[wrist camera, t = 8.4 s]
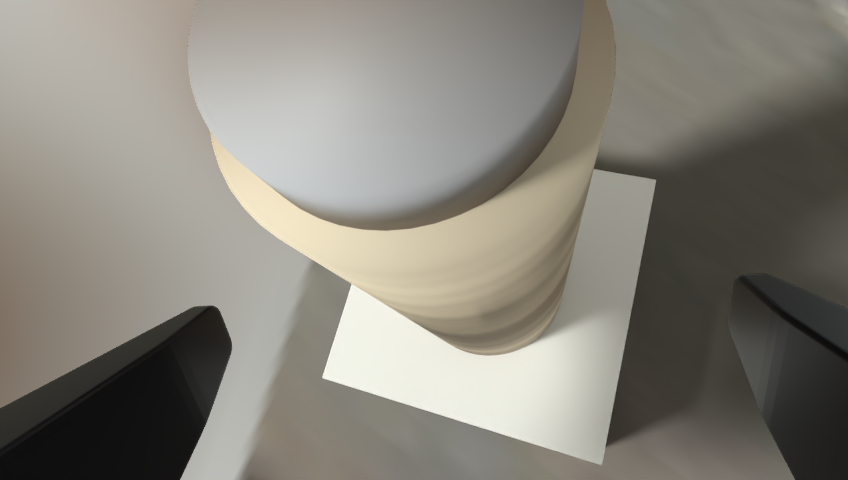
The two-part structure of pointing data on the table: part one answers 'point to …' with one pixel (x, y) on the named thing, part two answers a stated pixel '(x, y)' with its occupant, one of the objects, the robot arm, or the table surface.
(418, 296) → the salt mill
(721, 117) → the table surface
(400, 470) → the table surface
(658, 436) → the table surface
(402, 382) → the stoneware block
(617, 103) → the table surface
